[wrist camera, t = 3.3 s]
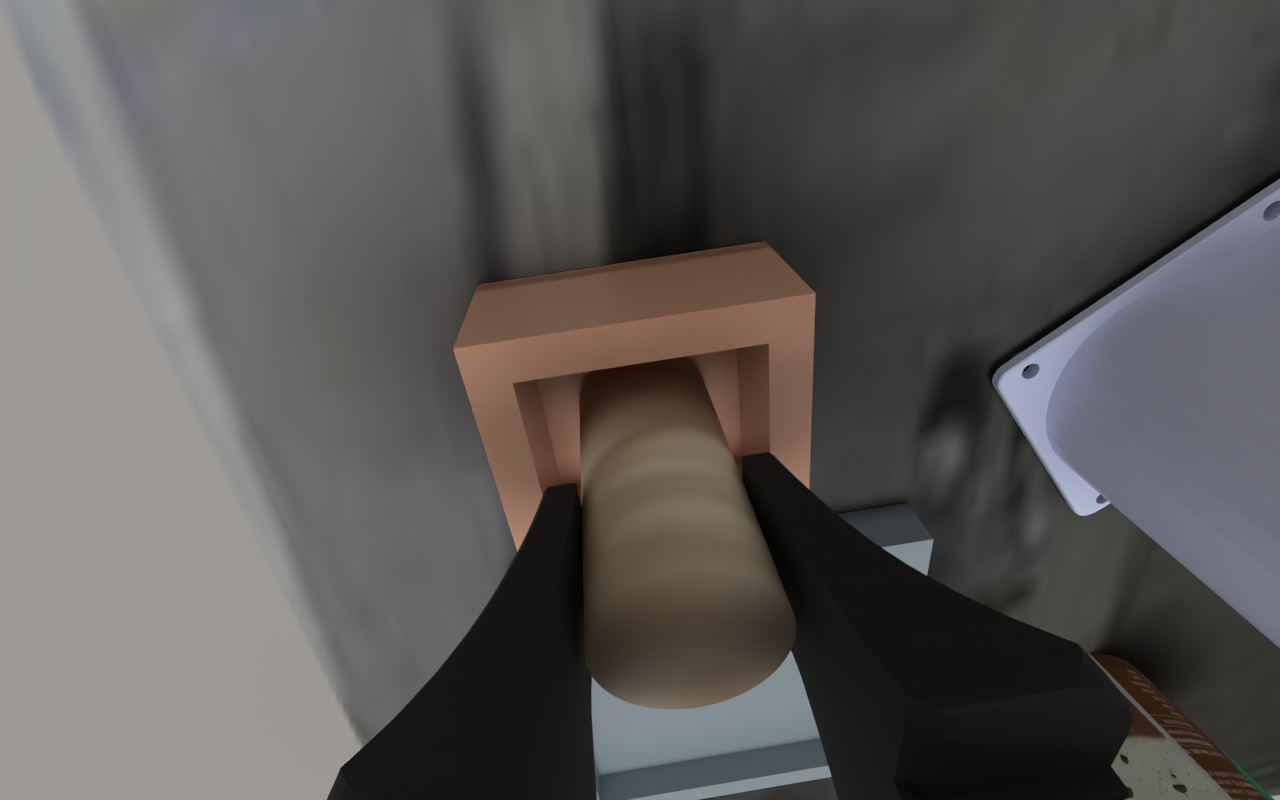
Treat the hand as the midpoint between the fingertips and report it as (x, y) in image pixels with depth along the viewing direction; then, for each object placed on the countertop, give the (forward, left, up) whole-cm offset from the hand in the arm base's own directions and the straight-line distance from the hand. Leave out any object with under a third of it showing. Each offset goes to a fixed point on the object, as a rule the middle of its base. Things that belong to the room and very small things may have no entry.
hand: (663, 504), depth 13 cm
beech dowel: (0, 0, -4) cm, 4 cm away
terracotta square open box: (0, 0, -5) cm, 5 cm away
